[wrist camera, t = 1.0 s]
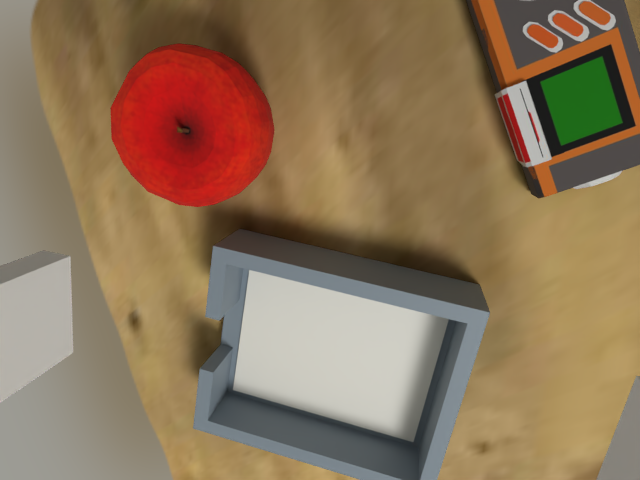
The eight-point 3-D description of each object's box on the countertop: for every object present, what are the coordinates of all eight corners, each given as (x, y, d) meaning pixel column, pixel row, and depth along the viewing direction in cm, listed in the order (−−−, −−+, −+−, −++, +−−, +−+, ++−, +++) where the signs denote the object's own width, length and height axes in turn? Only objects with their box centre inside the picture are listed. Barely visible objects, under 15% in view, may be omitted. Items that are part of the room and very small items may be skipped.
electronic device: (587, -135, 22) (675, 161, 23) (569, -104, 24) (649, 158, 26) (449, -61, 24) (540, 206, 25) (447, -40, 26) (529, 199, 28)
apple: (194, 203, 33) (130, 229, 25) (153, 79, 31) (71, 69, 24) (310, 172, 31) (276, 191, 23) (273, 37, 29) (223, 11, 21)
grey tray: (239, 228, 33) (213, 245, 28) (479, 284, 30) (489, 312, 26) (219, 392, 37) (193, 428, 33) (428, 453, 34) (430, 500, 30)
